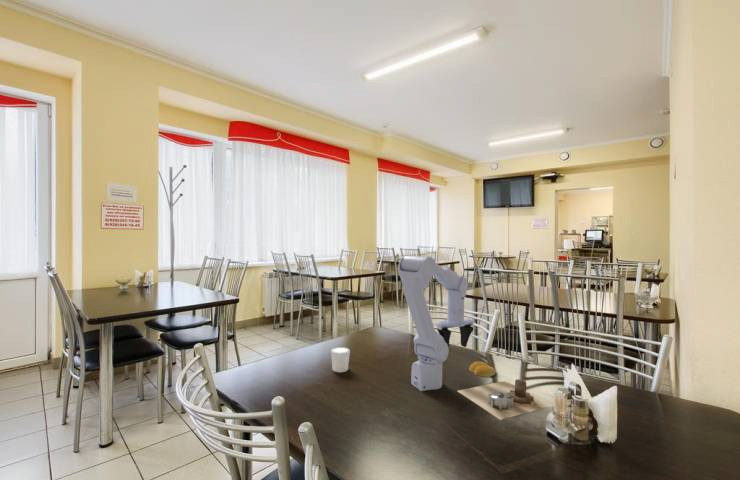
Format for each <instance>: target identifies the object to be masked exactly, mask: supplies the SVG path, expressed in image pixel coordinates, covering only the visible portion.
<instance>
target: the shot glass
mask: <svg viewBox="0 0 740 480" xmlns="http://www.w3.org/2000/svg"><path fill="white" fill-rule="evenodd" d="M350 355H351V351H350V349H349V348H348V347H343V346H339V347H337V346H336V347H334V348H332V349H331V350H330V356H331V357H330V358H331V368H332V371H333V372H335V373H344V372H347V371H348V370H349V363H350Z"/></svg>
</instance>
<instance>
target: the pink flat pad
mask: <svg viewBox="0 0 740 480" xmlns="http://www.w3.org/2000/svg"><path fill="white" fill-rule="evenodd" d="M513 404H515V405H518V406H523V407H529V406H533V405H534V400H533V402H531V404H530V405H529V404H522V405H520V404H519V403H516V402H513Z"/></svg>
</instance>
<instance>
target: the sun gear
mask: <svg viewBox="0 0 740 480" xmlns="http://www.w3.org/2000/svg"><path fill="white" fill-rule="evenodd" d="M488 403H489V404H491V407H492V408H497V409H499V410H501V411H502V410H508V411H509V410H511V407H512V408H513V398H511V395H510V394H506V393H503V392H501V391H500V392H494V391H492V393H491V394H489V399H488Z"/></svg>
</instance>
